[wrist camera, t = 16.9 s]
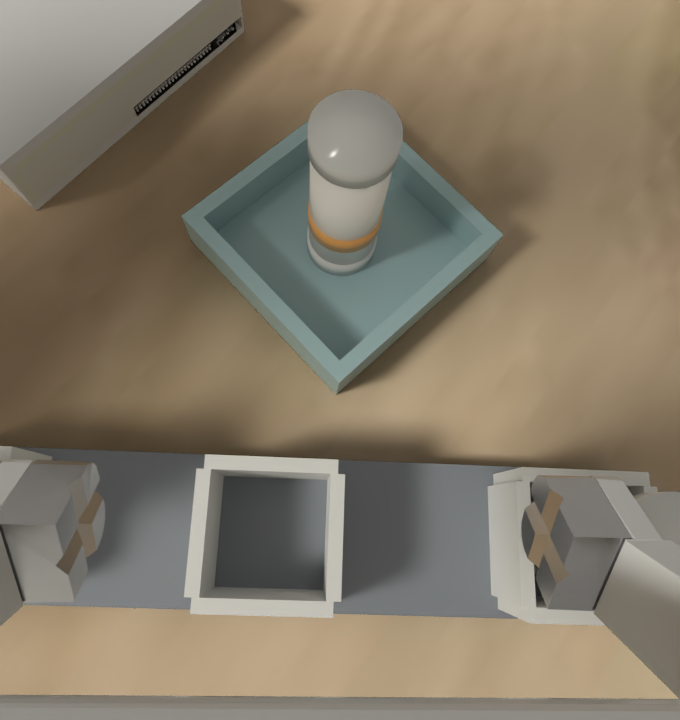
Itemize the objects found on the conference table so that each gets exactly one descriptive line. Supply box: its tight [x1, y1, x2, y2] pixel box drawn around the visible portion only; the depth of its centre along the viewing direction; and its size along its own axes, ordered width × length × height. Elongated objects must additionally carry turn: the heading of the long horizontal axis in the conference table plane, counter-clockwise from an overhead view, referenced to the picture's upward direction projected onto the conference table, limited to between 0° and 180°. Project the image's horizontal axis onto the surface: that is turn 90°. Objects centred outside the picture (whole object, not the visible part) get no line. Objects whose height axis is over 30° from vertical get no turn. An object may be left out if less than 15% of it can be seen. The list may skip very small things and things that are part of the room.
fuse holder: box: [0, 446, 658, 626], centre depth 26 cm, size 7×35×6 cm, turn 88°
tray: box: [181, 121, 503, 394], centre depth 32 cm, size 12×12×3 cm
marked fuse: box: [307, 89, 403, 276], centre depth 28 cm, size 4×4×10 cm
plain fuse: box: [534, 491, 680, 577], centre depth 23 cm, size 4×4×10 cm
